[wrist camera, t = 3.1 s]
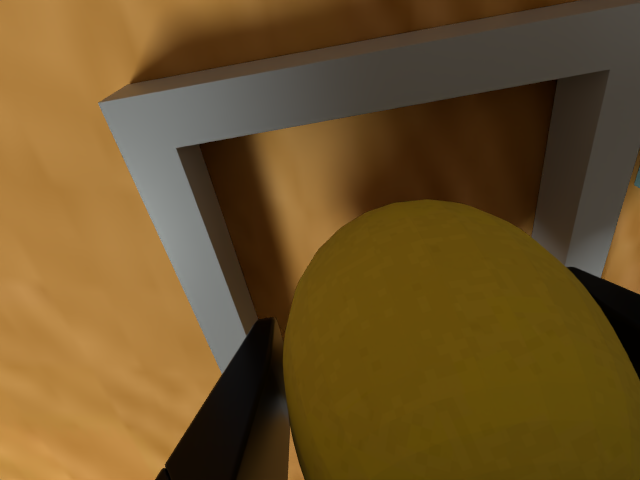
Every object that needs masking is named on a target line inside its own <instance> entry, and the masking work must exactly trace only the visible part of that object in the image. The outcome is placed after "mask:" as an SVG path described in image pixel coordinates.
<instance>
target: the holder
mask: <svg viewBox="0 0 640 480" xmlns="http://www.w3.org/2000/svg"><path fill="white" fill-rule="evenodd" d="M554 79H558V80H557V86H556V92H555V98H554V104H553V110H552V116H551V122H550V128H549V134H548V141H547V147H546V153H545V159H544V165H543V171H542V177H541V183H540V189H539V195H538V201H537V208H536V214H535V220H534V226H533V232H532V238H533V239H534V240H536V241H537V242H538V243H539V244H540V245H541V246H543V247H544V248H545V249H546V250H547V251H548V252H550V253H551V254H552V255H553V256H554V257H556V258H557V259H558V260H559V261H560V262H561V263H562V264H563V265H564V266H565V267H576V268H578V269H581V270H583V271H585V272H588V273H590V274H592V275H595V276H597V277H599V278H601V275H602V272H603V268H604V265H605V262H606V258H607V255H608V252H609V248H610V245H611V242H612V238H613V235H614V232H615V228H616V225H617V222H618V218H619V215H620V212H621V208H622V205H623V202H624V198H625V195H626V192H627V188H628V185H629V182H630V178H631V175H632V172H633V168H634V165H635V162H636V158H637V155H638V152H639V148H640V0H580V1H574V2H569V3H564V4H558V5H553V6H547V7H542V8H537V9H531V10H526V11H521V12H515V13H510V14H504V15H499V16H494V17H488V18H483V19H478V20H472V21H467V22H461V23H456V24H451V25H445V26H440V27H434V28H429V29H424V30H418V31H413V32H408V33H402V34H397V35H391V36H386V37H381V38H375V39H370V40H365V41H359V42H354V43H348V44H343V45H338V46H332V47H327V48H322V49H316V50H311V51H305V52H300V53H295V54H289V55H284V56H279V57H273V58H268V59H262V60H257V61H252V62H246V63H241V64H236V65H230V66H225V67H219V68H214V69H209V70H203V71H198V72H192V73H187V74H182V75H176V76H171V77H166V78H160V79H155V80H149V81H144V82H139V83H133V84H128V85H126V86H124V87H123V88H121V89H120V90H118V91H116V92H115V93H113V94H112V95H110V96H108V97H107V98H105V99H104V100H102V101H100V102H99V103H98V104H99V106H100V108H101V110H102V113H103V115H104V117H105V119H106V121H107V123H108V126H109V128H110V130H111V132H112V134H113V137H114V139H115V141H116V143H117V145H118V147H119V150H120V152H121V154H122V156H123V158H124V161H125V163H126V165H127V167H128V169H129V172H130V174H131V176H132V178H133V180H134V182H135V185H136V187H137V189H138V191H139V193H140V196H141V198H142V200H143V202H144V204H145V206H146V209H147V211H148V213H149V215H150V217H151V220H152V222H153V224H154V226H155V228H156V231H157V233H158V235H159V237H160V239H161V241H162V244H163V246H164V248H165V250H166V252H167V255H168V257H169V259H170V261H171V263H172V265H173V268H174V270H175V272H176V274H177V276H178V279H179V281H180V283H181V285H182V287H183V290H184V292H185V294H186V296H187V298H188V300H189V303H190V305H191V307H192V309H193V311H194V314H195V316H196V318H197V320H198V322H199V324H200V327H201V329H202V331H203V333H204V335H205V338H206V340H207V342H208V344H209V346H210V349H211V351H212V353H213V355H214V357H215V359H216V362H217V364H218V366H219V368H220V370H221V373H222V374H223V372H224V371H225V369H226V367H227V366H228V364H229V363H230V361H231V360H232V358H233V356H234V355H235V353H236V352H237V350H238V348H239V347H240V345H241V344H242V342H243V341H244V339H245V337H246V336H247V334H248V333H249V331H250V330H251V328H252V326H253V325H254V323H255V322H256V321H257V320H258V317H257V314H256V311H255V308H254V305H253V303H252V300H251V297H250V294H249V291H248V288H247V285H246V282H245V279H244V276H243V273H242V270H241V267H240V264H239V261H238V258H237V255H236V252H235V249H234V247H233V244H232V241H231V238H230V235H229V232H228V229H227V226H226V223H225V220H224V217H223V214H222V211H221V208H220V205H219V202H218V199H217V196H216V193H215V191H214V188H213V185H212V182H211V179H210V176H209V173H208V170H207V167H206V164H205V161H204V158H203V155H202V152H201V149H200V146H199V144H201V143H206V142H212V141H217V140H223V139H229V138H234V137H240V136H245V135H251V134H256V133H262V132H267V131H273V130H278V129H284V128H289V127H295V126H300V125H306V124H311V123H317V122H322V121H328V120H333V119H339V118H344V117H350V116H355V115H361V114H366V113H372V112H377V111H383V110H388V109H394V108H399V107H405V106H411V105H416V104H422V103H427V102H433V101H438V100H444V99H449V98H455V97H460V96H466V95H471V94H477V93H482V92H488V91H493V90H499V89H504V88H510V87H515V86H521V85H526V84H532V83H537V82H543V81H548V80H554Z"/></svg>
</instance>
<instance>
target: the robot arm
mask: <svg viewBox="0 0 640 480" xmlns="http://www.w3.org/2000/svg"><path fill="white" fill-rule="evenodd" d="M566 268H568V269H569V270H570V271H571V272H572V273H573V274H574V275H575V277H576V278H577V279H578V280H579V281H580V282H581V283H582V285H583V286H584V287H585V288H586V289H587V290H588V292H589V293H590V295H591V296H592V297H593V299H594V300H595V301H596V303H597V304H598V305H599V307H600V308H601V310H602V311H603V313H604V315H605V316H606V318H607V319H608V321H609V323H610V324H611V326H612V327H613V329H614V331H615V333H616V335H617V336H618V338H619V340H620V342H621V344H622V346H623V348H624V349H625V351H626V353H627V355H628V357H629V359H630V361H631V363H632V365H633V367H634V370H635V372H636V374H637V376H638V378H639V380H640V294H637V293H635V292H633V291H630V290H628V289H625V288H623V287H621V286H618V285H616V284H614V283H611V282H609V281H607V280H604V279H602V278H599V277H597V276H595V275H592V274H590V273H588V272H585V271H583V270H581V269H578V268H576V267H566ZM283 345H284V341H283V338H282V335H281V332H280V328H279V325H278V322H277V320H276V318H274V317H270V318H264V319H259V320H257V321H256V322H255V323H254V325H253V326H252V328H251V330H250V331H249V333H248V334H247V336H246V337H245V339H244V341H243V342H242V344H241V345H240V347H239V348H238V350H237V352H236V353H235V355H234V356H233V358H232V360H231V361H230V363H229V364H228V366H227V367H226V369H225V371H224V372H223V374H222V375H221V377H220V378H219V380H218V382H217V383H216V385H215V386H214V388H213V389H212V391H211V393H210V394H209V396H208V397H207V399H206V400H205V402H204V404H203V405H202V407H201V408H200V410H199V412H198V413H197V415H196V416H195V418H194V419H193V421H192V423H191V424H190V426H189V427H188V429H187V430H186V432H185V434H184V435H183V437H182V438H181V440H180V441H179V443H178V445H177V446H176V448H175V449H174V451H173V452H172V454H171V456H170V457H169V459H168V460H167V462H166V464H165V467H166V468H163V469H162V470H161V471H160V473H159V474H158V476H157V477H156V479H155V480H288V461H289V439H290V423H289V416H288V409H287V401H286V393H285V384H284V373H283Z"/></svg>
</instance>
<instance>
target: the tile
mask: <svg viewBox="0 0 640 480" xmlns="http://www.w3.org/2000/svg"><path fill="white" fill-rule="evenodd" d="M634 185H635V186H637V187H639V188H640V167H639V170H638V174H637V177H636V180H635V183H634Z"/></svg>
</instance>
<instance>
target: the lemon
mask: <svg viewBox="0 0 640 480" xmlns="http://www.w3.org/2000/svg"><path fill="white" fill-rule="evenodd" d="M283 373H284V384H285V393H286V401H287V409H288V416H289V423H290V428H291V432H292V437H293V442H294V446H295V450H296V453H297V457H298V461H299V464H300V467H301V470H302V473H303V476H304V479H305V480H640V380H639V378H638V376H637V374H636V372H635V370H634V367H633V365H632V363H631V361H630V359H629V357H628V355H627V353H626V351H625V349H624V348H623V346H622V344H621V342H620V340H619V338H618V336H617V335H616V333H615V331H614V329H613V327H612V326H611V324H610V323H609V321H608V319H607V318H606V316H605V315H604V313H603V311H602V310H601V308H600V307H599V305H598V304H597V303H596V301H595V300H594V299H593V297H592V296H591V295H590V293H589V292H588V290H587V289H586V288H585V287H584V286H583V285H582V283H581V282H580V281H579V280H578V279H577V278H576V277H575V275H574V274H573V273H572V272H571V271H570V270H569V269H568V268H566V267H565V266H564V265H563V264H562V263H561V262H560V261H559V260H558V259H557V258H556V257H554V256H553V255H552V254H551V253H550V252H548V251H547V250H546V249H545V248H544V247H543V246H541V245H540V244H539V243H538V242H537V241H536V240H534V239H533V238H532V237H530V236H529V235H528V234H526V233H525V232H524V231H523V230H521V229H520V228H518V227H516V226H515V225H513V224H511V223H510V222H508V221H506V220H503V219H501V218H499V217H496V216H494V215H492V214H489V213H487V212H484V211H482V210H479V209H477V208H474V207H472V206H469V205H466V204H461V203H456V202H447V201H439V200H430V199H425V200H415V201H406V202H397V203H392V204H389V205H386V206H383V207H380V208H377V209H374V210H371V211H368V212H366V213H364V214H362V215H361V216H359V217H357V218H356V219H354V220H353V221H351V222H349V223H348V224H346V225H344V226H343V227H341V228H340V229H339V230H338V231H337V232H336V233H335V234H334V235H333V236H332V237H331V238H330V239H329V240H328V241H327V242H326V243H325V244H324V245H322V246H321V247H320V248H319V249H318V251H317V252H316V254H315V255H314V257H313V259H312V260H311V262H310V264H309V265H308V267H307V269H306V270H305V272H304V274H303V275H302V277H301V279H300V280H299V283H298V285H297V287H296V290H295V293H294V297H293V301H292V305H291V310H290V314H289V318H288V322H287V326H286V330H285V337H284V345H283Z"/></svg>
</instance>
